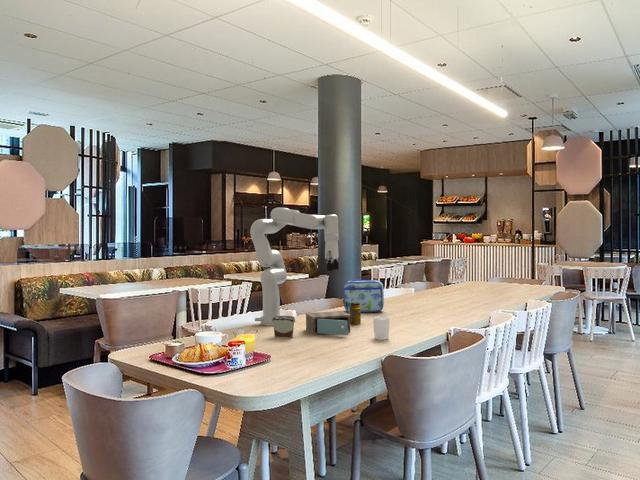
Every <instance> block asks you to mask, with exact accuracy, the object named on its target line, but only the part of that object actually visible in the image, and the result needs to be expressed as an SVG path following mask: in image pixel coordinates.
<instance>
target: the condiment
mask: <svg viewBox="0 0 640 480" xmlns="http://www.w3.org/2000/svg"><path fill="white" fill-rule="evenodd" d="M349 315H350V327H351V326H352V327H353V326H359V325H363V323H362V320H361V319H362V312H361V308H360V303H359V302H352V303H351V307H350V312H349Z"/></svg>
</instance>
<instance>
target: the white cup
mask: <svg viewBox="0 0 640 480" xmlns="http://www.w3.org/2000/svg"><path fill="white" fill-rule="evenodd" d="M372 319H373V321H372V323H373V333H374V336H373V337H374V339H375V340H378V341H380V340H381V341H386V340H388V339H389V334H390V317H388V316H375V317H373V318H372Z"/></svg>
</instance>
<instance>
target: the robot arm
mask: <svg viewBox="0 0 640 480" xmlns="http://www.w3.org/2000/svg"><path fill="white" fill-rule="evenodd" d="M287 225H289V226H295V227H298V228H303V229H308V230H324V231H323V232H324V242H325V244H324V259H325V260H326V271H327V272H333V271H335V270H337V271H338V270H339V269H340V268H339V256H340V255H339V242H338V241H340V235H339V217H338V215H337V214H326V215H323V214H322V215H320V214H319V215H318V214H309V213H308V214H307V213H302V212H300V211H299V210H298V209H290V208H288V207H275V208H273V209H272V210H271V211H270V218H260V219H257V220H255V221H254V222H253V223H252V224H251V226H250V230H249V232H250V233H249V234H250V238H251V241H252V243H253V247H254V249H255V254H256V258H257V261H258V263H259V265H260V266H261V267H264V268H266V269H264V270H263V271H262V272H261V274H260V282H261V288H262V315H261V317H254V322H260V325H261V326H265V327H267V326H273V321H272V318H273V317H274V316H281V313H280V311H281V309H280V307H281V305H280V303H281V301H280V299H281V298H280V289H279V285H280V284H283V283H284V282H286V280H287V278H288V273H287V270H286V266H285V262H284V258H283V256H282V253H281V252H279V251H278V250H277V249H272V248H271V245H270V241H269V240H268V238H267V237H266V234H267V235H270V234H275V233H278V231H280V230H281V229H282V228H284V227H286V226H287ZM267 267H269V268H267ZM273 327H274V326H273Z"/></svg>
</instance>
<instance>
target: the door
mask: <svg viewBox="0 0 640 480" xmlns="http://www.w3.org/2000/svg"><path fill="white" fill-rule="evenodd" d="M317 333H325V334H324V335H340V336H341V335H342V336H348V333H349V332H348V325H347V321H343V320H327V319H317Z"/></svg>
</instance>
